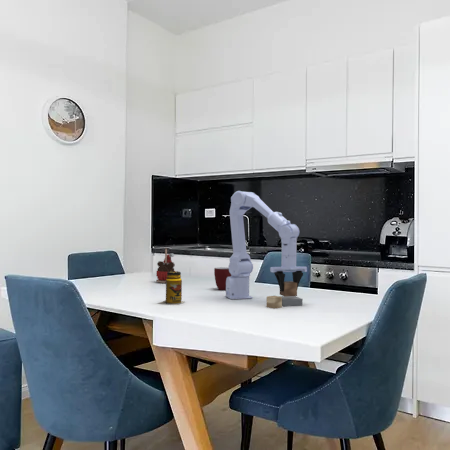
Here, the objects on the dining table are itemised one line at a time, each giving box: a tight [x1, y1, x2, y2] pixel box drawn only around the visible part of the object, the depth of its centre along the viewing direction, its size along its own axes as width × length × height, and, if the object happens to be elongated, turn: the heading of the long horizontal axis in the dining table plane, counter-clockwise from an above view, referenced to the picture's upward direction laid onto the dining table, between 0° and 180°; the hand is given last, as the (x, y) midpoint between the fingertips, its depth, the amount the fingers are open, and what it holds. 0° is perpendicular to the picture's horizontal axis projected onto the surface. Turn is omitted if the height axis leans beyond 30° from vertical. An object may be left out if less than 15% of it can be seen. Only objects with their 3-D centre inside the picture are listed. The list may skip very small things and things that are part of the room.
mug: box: [213, 266, 231, 291], centre depth 218 cm, size 10×8×10 cm
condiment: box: [159, 270, 185, 306], centre depth 180 cm, size 7×8×12 cm
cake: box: [155, 247, 175, 284], centre depth 241 cm, size 11×9×18 cm
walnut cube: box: [279, 280, 298, 297], centre depth 180 cm, size 5×5×5 cm
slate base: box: [278, 295, 303, 307], centre depth 180 cm, size 8×8×2 cm
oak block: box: [266, 295, 283, 310], centre depth 173 cm, size 4×4×4 cm
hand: (288, 290), depth 180 cm, fingers closed on walnut cube, 5 cm apart
